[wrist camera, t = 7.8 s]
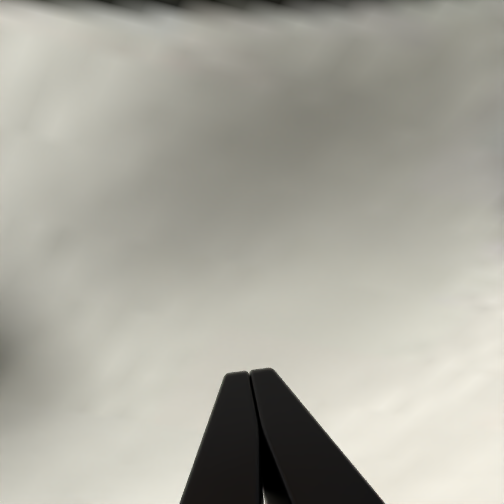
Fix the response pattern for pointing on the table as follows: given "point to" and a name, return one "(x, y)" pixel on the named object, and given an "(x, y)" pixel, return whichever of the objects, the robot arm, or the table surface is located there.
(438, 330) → the table surface
